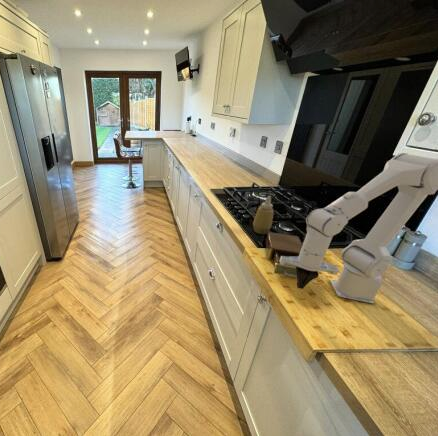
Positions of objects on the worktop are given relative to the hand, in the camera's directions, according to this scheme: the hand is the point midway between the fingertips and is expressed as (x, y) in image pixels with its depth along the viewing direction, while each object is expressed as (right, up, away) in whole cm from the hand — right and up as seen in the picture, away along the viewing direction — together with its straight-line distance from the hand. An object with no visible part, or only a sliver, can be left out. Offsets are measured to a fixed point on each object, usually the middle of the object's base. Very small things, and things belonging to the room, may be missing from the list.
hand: (299, 286), depth 73 cm
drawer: (+4, +2, +13) cm, 14 cm away
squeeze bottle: (+7, +15, +41) cm, 44 cm away
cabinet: (+8, +7, +24) cm, 26 cm away
